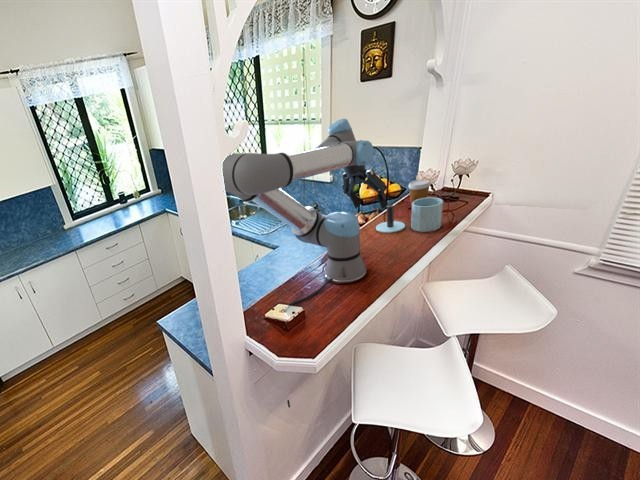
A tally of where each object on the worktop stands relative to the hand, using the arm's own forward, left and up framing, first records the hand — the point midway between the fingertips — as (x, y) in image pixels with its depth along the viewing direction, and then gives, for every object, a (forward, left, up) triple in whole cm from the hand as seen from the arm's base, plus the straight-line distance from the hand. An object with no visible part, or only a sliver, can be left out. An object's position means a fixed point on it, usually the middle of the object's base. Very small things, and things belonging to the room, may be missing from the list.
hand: (370, 206), depth 143 cm
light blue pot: (+23, -9, -16) cm, 29 cm away
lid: (+15, +3, -15) cm, 22 cm away
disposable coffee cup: (+43, +10, -16) cm, 47 cm away
